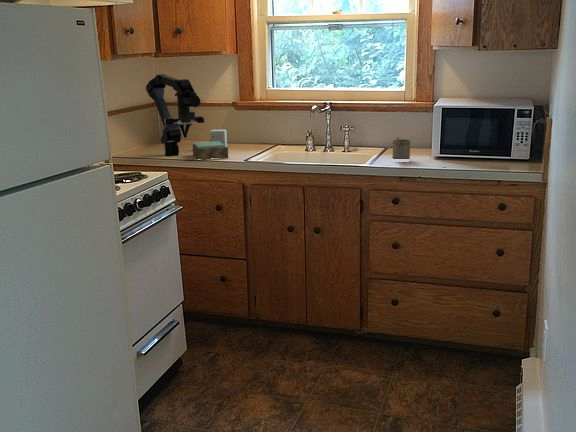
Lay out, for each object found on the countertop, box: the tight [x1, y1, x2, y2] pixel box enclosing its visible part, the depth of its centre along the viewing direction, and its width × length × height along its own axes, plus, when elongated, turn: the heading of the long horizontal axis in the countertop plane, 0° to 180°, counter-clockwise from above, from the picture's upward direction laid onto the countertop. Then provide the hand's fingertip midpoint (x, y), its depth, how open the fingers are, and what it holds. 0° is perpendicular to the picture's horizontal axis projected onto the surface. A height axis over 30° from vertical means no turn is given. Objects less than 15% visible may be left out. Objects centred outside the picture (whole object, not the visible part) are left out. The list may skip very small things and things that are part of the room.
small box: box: [209, 129, 228, 147], centre depth 333 cm, size 8×6×10 cm
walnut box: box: [192, 143, 229, 160], centre depth 314 cm, size 15×16×6 cm
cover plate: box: [193, 141, 224, 149], centre depth 313 cm, size 13×13×2 cm
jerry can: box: [391, 137, 412, 159], centre depth 294 cm, size 14×10×12 cm
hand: (185, 137), depth 309 cm, fingers closed
